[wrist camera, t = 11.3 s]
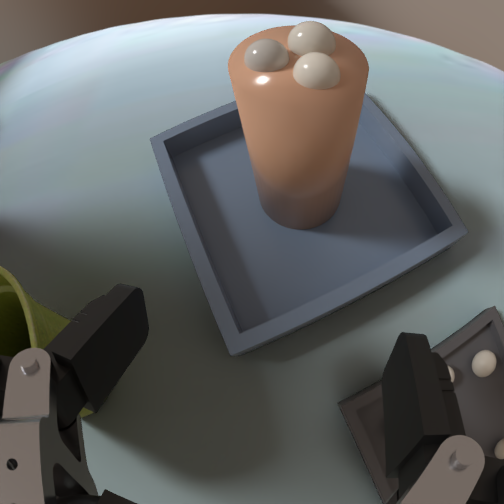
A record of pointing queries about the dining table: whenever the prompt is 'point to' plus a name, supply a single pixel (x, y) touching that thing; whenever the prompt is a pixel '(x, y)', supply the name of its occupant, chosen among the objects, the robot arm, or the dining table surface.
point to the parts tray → (466, 388)
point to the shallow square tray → (292, 240)
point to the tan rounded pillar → (299, 117)
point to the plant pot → (25, 321)
